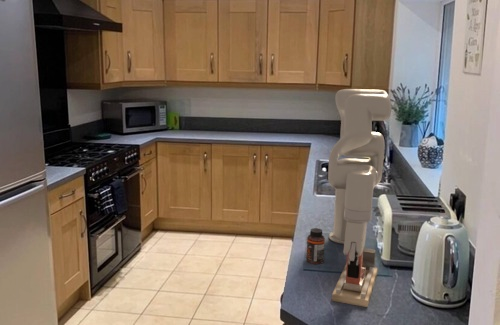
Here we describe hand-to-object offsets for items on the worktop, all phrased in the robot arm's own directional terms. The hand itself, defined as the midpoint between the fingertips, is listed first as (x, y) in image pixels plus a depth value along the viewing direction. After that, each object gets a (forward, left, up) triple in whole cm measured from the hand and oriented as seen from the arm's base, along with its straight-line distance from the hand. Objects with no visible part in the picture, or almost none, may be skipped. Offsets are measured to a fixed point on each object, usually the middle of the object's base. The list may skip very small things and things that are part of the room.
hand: (353, 274), depth 142 cm
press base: (-7, 0, -7) cm, 9 cm away
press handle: (-3, 0, -4) cm, 5 cm away
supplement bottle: (-21, -16, -7) cm, 27 cm away
